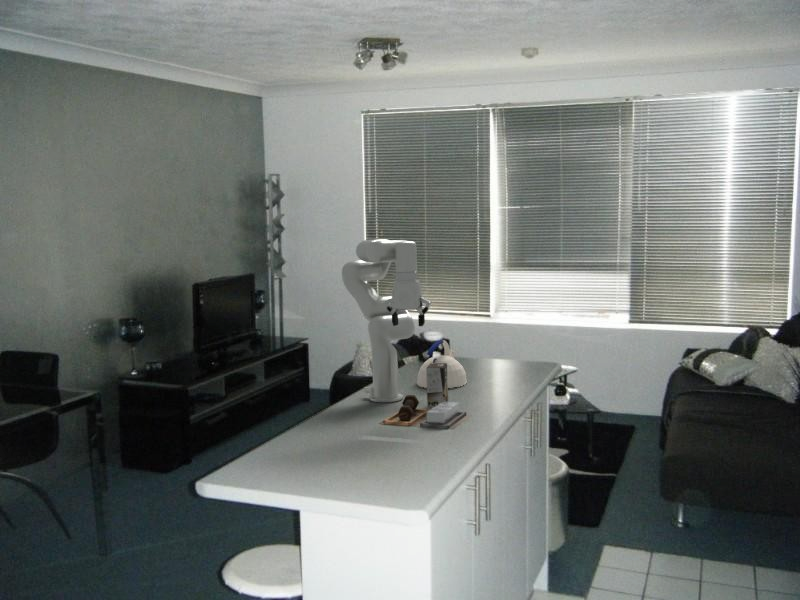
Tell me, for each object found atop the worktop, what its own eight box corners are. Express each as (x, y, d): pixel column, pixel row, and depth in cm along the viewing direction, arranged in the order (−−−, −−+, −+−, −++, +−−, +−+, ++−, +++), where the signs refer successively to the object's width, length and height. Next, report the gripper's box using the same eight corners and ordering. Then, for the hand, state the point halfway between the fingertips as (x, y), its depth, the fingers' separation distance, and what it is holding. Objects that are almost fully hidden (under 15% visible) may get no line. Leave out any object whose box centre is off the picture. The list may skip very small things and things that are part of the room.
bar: (427, 425, 260) (426, 412, 260) (443, 414, 274) (442, 401, 273) (444, 427, 258) (444, 413, 257) (459, 415, 271) (459, 402, 271)
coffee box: (445, 413, 280) (444, 367, 278) (427, 413, 281) (425, 367, 280) (449, 407, 289) (447, 362, 287) (431, 406, 290) (429, 362, 289)
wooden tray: (378, 427, 265) (378, 420, 265) (400, 413, 282) (400, 407, 282) (453, 433, 255) (453, 426, 255) (471, 418, 272) (471, 412, 271)
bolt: (401, 428, 265) (409, 412, 279) (414, 420, 264) (421, 405, 278) (392, 413, 264) (400, 398, 279) (404, 406, 263) (412, 391, 277)
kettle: (476, 381, 332) (474, 337, 330) (451, 391, 315) (450, 345, 313) (433, 377, 343) (432, 335, 341) (407, 386, 326) (405, 342, 324)
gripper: (379, 277, 281) (381, 326, 283) (425, 277, 274) (427, 327, 276) (388, 275, 288) (390, 323, 290) (433, 275, 281) (435, 324, 283)
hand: (408, 325), depth 283 cm, fingers open, 9 cm apart
